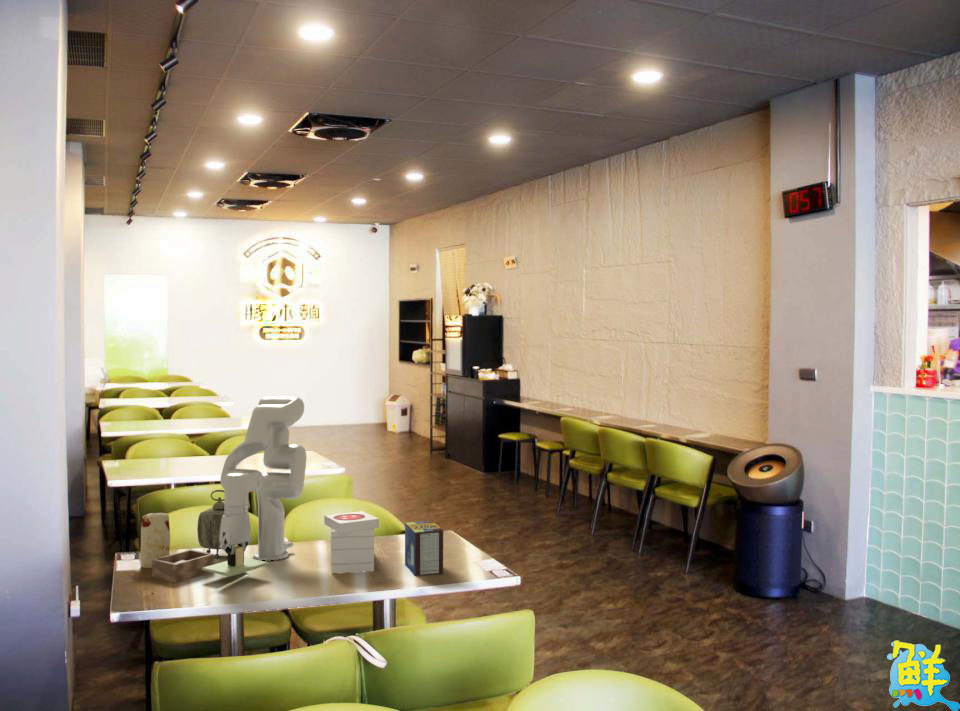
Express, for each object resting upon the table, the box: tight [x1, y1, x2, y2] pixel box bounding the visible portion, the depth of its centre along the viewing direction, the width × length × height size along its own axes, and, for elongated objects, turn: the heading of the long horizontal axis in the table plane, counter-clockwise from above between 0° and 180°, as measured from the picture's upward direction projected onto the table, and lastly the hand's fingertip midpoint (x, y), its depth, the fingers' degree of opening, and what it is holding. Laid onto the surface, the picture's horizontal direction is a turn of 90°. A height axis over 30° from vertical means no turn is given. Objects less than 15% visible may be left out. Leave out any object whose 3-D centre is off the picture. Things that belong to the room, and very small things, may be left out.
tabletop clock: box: [196, 489, 225, 559], centre depth 308 cm, size 14×9×25 cm, turn 84°
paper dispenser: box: [323, 510, 380, 574], centre depth 301 cm, size 19×30×18 cm, turn 11°
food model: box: [140, 512, 171, 569], centre depth 292 cm, size 10×7×20 cm
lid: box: [202, 545, 269, 577], centre depth 278 cm, size 17×13×8 cm
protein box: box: [404, 520, 444, 577], centre depth 294 cm, size 10×15×16 cm
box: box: [151, 549, 215, 584], centre depth 282 cm, size 16×12×7 cm
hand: (235, 563), depth 278 cm, fingers closed on lid, 3 cm apart
